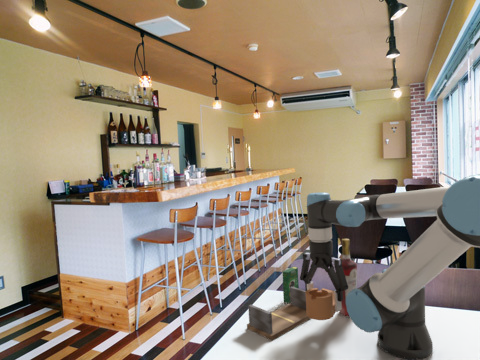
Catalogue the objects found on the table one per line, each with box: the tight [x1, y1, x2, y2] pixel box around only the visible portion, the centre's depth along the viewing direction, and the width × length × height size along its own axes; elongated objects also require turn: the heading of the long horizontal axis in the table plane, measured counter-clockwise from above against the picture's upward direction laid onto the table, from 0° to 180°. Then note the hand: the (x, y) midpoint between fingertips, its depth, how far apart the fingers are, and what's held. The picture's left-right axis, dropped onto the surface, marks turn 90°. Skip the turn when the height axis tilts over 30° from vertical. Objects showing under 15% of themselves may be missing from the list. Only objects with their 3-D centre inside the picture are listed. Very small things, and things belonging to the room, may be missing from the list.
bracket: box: [305, 287, 336, 321], centre depth 115 cm, size 18×8×7 cm, turn 152°
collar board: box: [246, 287, 311, 341], centre depth 126 cm, size 12×24×8 cm, turn 132°
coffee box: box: [282, 266, 300, 304], centre depth 145 cm, size 8×3×13 cm, turn 138°
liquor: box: [339, 238, 358, 317], centre depth 129 cm, size 7×7×28 cm
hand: (324, 305), depth 116 cm, fingers closed on bracket, 10 cm apart
